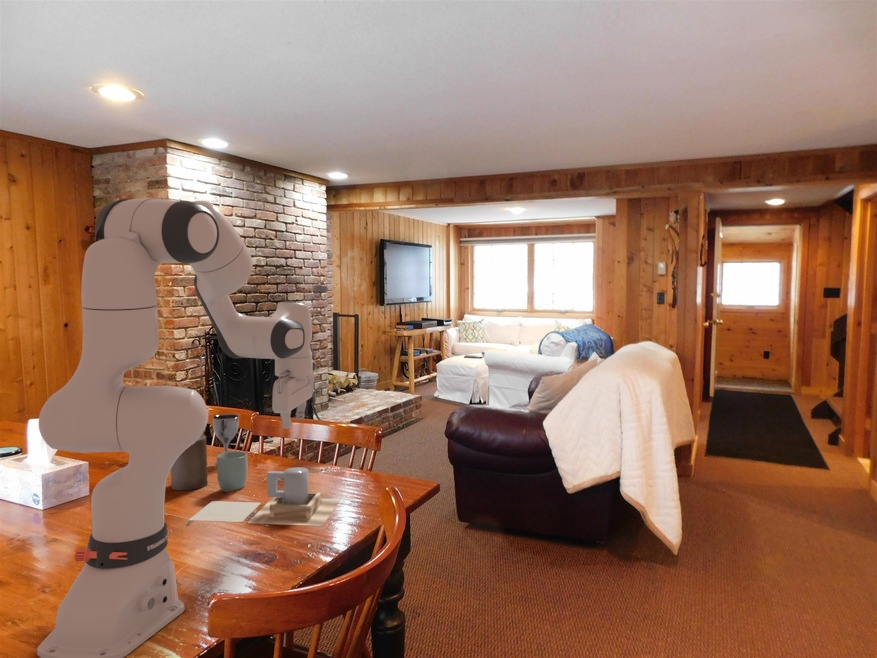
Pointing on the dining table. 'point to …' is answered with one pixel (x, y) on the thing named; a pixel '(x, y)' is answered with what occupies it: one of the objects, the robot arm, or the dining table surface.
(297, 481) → the light blue mug
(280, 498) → the holder
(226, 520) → the mat
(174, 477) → the pillar candle
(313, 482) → the dining table surface
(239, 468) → the cup
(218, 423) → the wine glass
